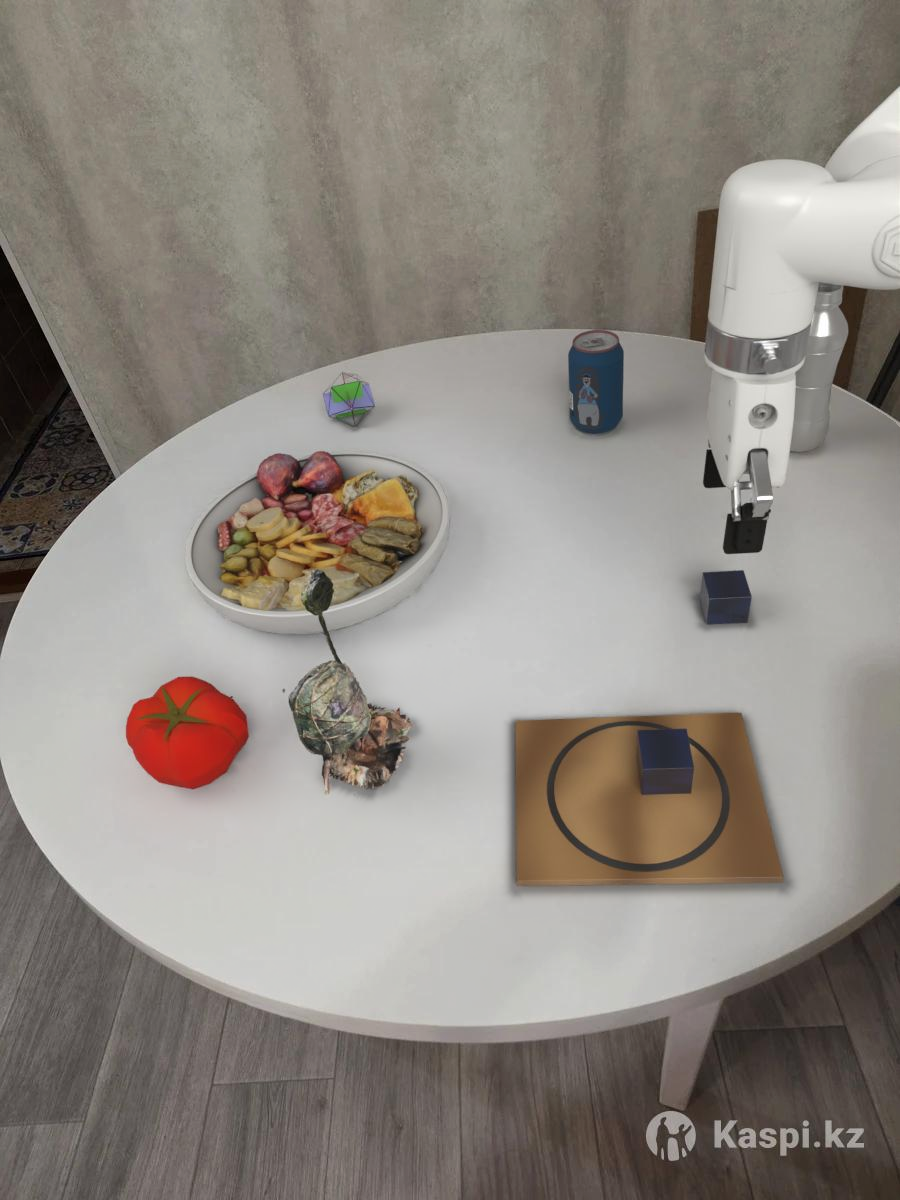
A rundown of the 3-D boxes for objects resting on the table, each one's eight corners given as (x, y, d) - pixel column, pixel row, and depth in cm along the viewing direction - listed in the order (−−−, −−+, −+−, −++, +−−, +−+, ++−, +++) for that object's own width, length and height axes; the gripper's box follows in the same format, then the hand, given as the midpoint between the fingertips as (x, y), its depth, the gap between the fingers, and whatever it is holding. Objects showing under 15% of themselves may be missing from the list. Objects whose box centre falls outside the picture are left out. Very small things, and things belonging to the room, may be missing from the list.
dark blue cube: (683, 754, 74) (686, 728, 71) (691, 793, 71) (694, 767, 68) (636, 755, 74) (637, 729, 72) (641, 795, 71) (642, 769, 69)
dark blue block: (739, 595, 88) (743, 569, 86) (747, 622, 86) (752, 596, 83) (699, 597, 89) (702, 571, 87) (706, 624, 86) (709, 598, 84)
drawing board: (740, 718, 77) (741, 710, 76) (782, 882, 65) (784, 875, 65) (516, 725, 79) (515, 718, 79) (517, 886, 68) (516, 879, 67)
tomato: (202, 696, 87) (181, 650, 82) (273, 745, 81) (255, 699, 77) (121, 761, 82) (94, 716, 77) (191, 819, 76) (166, 774, 71)
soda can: (614, 407, 118) (615, 323, 110) (628, 432, 113) (631, 347, 105) (564, 415, 118) (562, 332, 110) (576, 442, 113) (575, 357, 105)
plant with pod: (287, 779, 78) (222, 620, 64) (371, 698, 84) (328, 537, 70) (352, 823, 74) (297, 662, 60) (435, 735, 80) (402, 571, 66)
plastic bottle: (758, 447, 107) (781, 290, 94) (788, 423, 110) (814, 268, 97) (806, 464, 103) (837, 304, 90) (836, 440, 106) (870, 281, 93)
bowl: (503, 571, 95) (498, 514, 90) (252, 693, 86) (229, 638, 81) (381, 456, 116) (370, 404, 110) (167, 545, 106) (144, 493, 101)
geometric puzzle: (379, 419, 119) (366, 361, 118) (331, 429, 118) (317, 371, 117) (378, 426, 126) (365, 371, 125) (332, 436, 125) (318, 381, 125)
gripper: (839, 392, 60) (797, 578, 71) (779, 289, 73) (752, 461, 84) (728, 400, 61) (705, 582, 72) (688, 297, 73) (673, 466, 85)
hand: (730, 517), depth 78 cm, fingers open, 9 cm apart
